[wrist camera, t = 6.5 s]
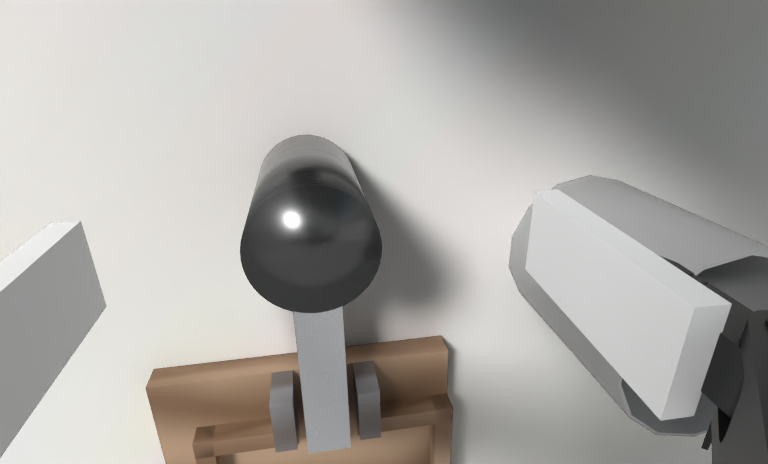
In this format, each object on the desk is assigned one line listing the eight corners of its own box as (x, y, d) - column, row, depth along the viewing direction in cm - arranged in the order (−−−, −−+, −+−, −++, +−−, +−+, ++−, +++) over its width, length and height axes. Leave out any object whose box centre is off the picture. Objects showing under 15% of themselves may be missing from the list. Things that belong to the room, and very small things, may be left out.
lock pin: (253, 137, 21) (230, 190, 14) (352, 132, 22) (380, 180, 14) (287, 411, 27) (284, 550, 20) (364, 401, 28) (388, 531, 20)
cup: (517, 179, 25) (646, 261, 16) (658, 171, 26) (852, 243, 17) (503, 316, 28) (603, 450, 19) (629, 303, 29) (778, 422, 20)
